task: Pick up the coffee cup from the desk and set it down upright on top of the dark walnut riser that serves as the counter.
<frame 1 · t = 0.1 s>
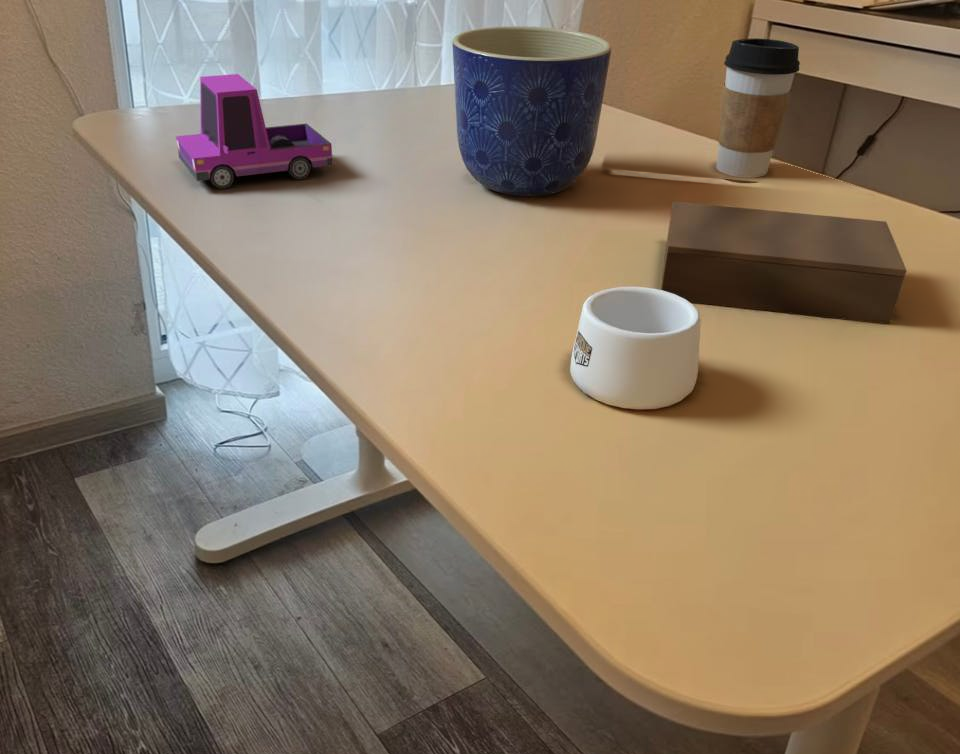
counter: (769, 284, 89), on the table
planter: (523, 186, 110), on the table
toy truck: (257, 174, 111), on the table
coffee cup: (740, 177, 116), on the table
mug: (625, 376, 74), on the table
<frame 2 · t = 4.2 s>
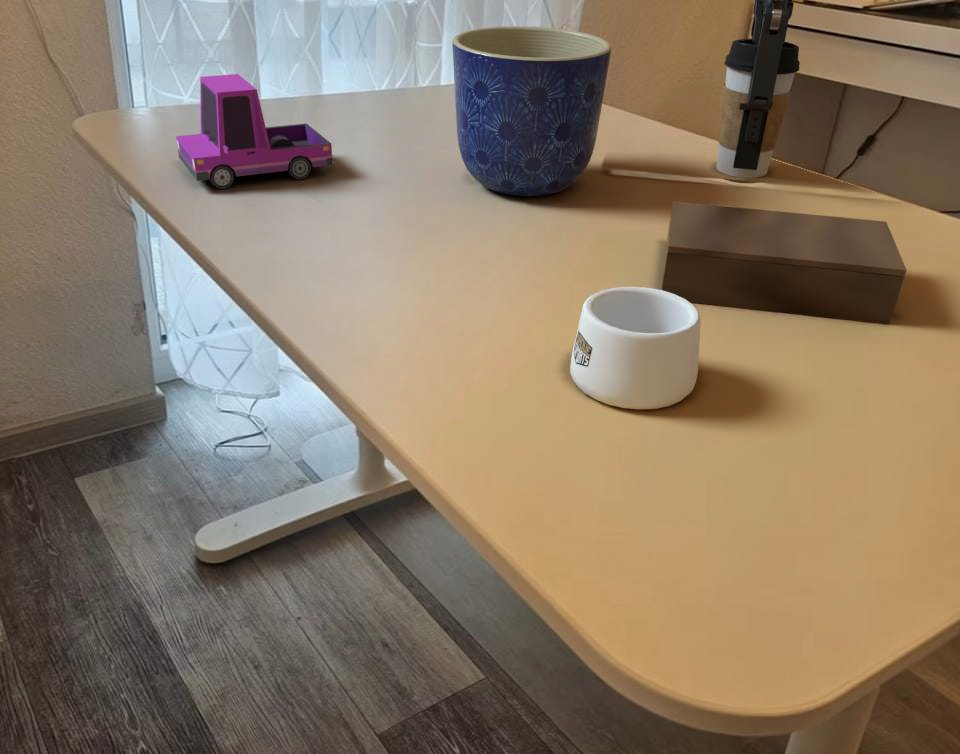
hand: (744, 157, 114), 2 cm above the table, tool pointing down, fingers closed on coffee cup, 8 cm apart
coffee cup: (740, 177, 116), on the table, touching gripper
everything else where it was.
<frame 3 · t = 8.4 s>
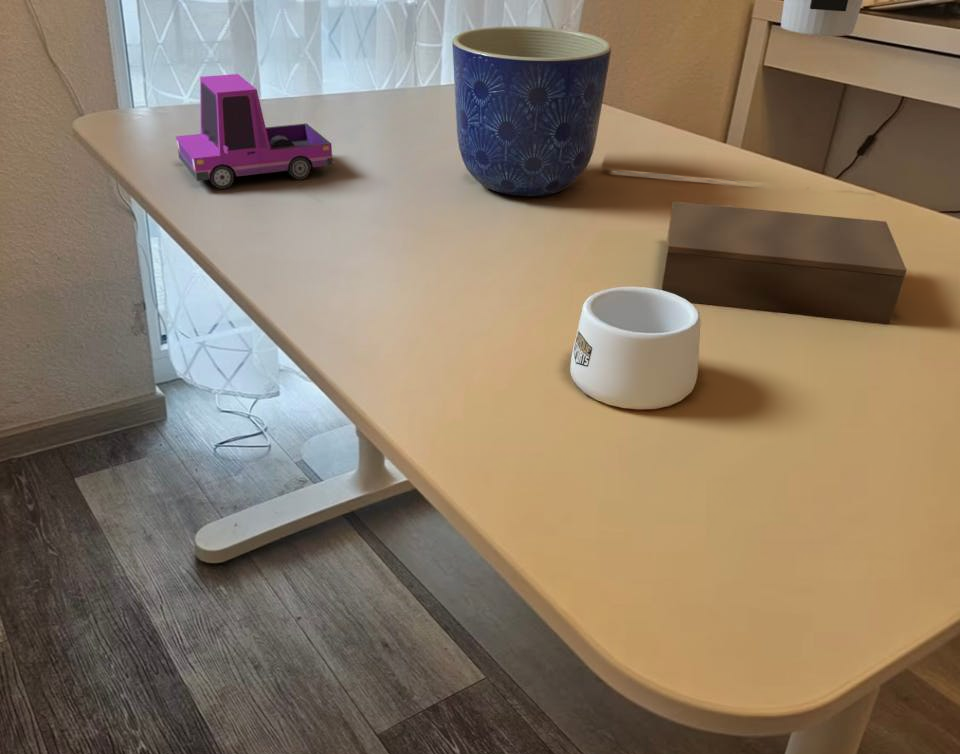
hand: (823, 0, 79), 23 cm above the table, tool pointing down, fingers closed on coffee cup, 8 cm apart
coffee cup: (815, 32, 80), point 21 cm above the table, touching gripper
everything else where it was.
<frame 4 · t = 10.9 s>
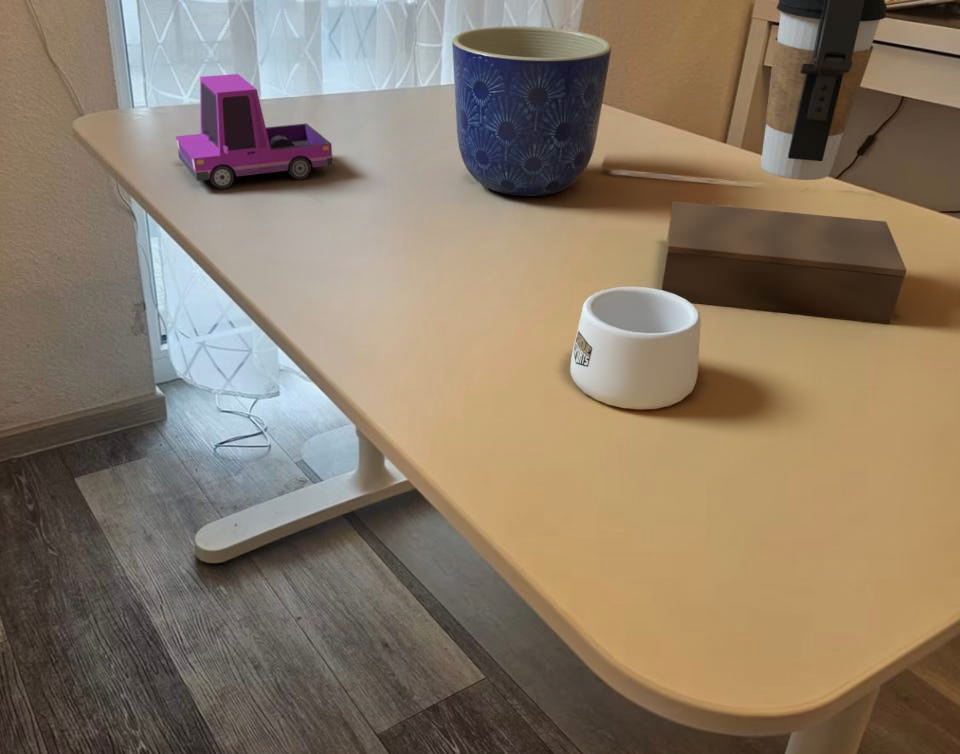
hand: (801, 144, 81), 13 cm above the table, tool pointing down, fingers closed on coffee cup, 8 cm apart
coffee cup: (794, 171, 83), point 10 cm above the table, touching gripper
everything else where it was.
when the fingers open (7 cm above the table, at t = 12.7 s): coffee cup stays where it is, resting on counter.
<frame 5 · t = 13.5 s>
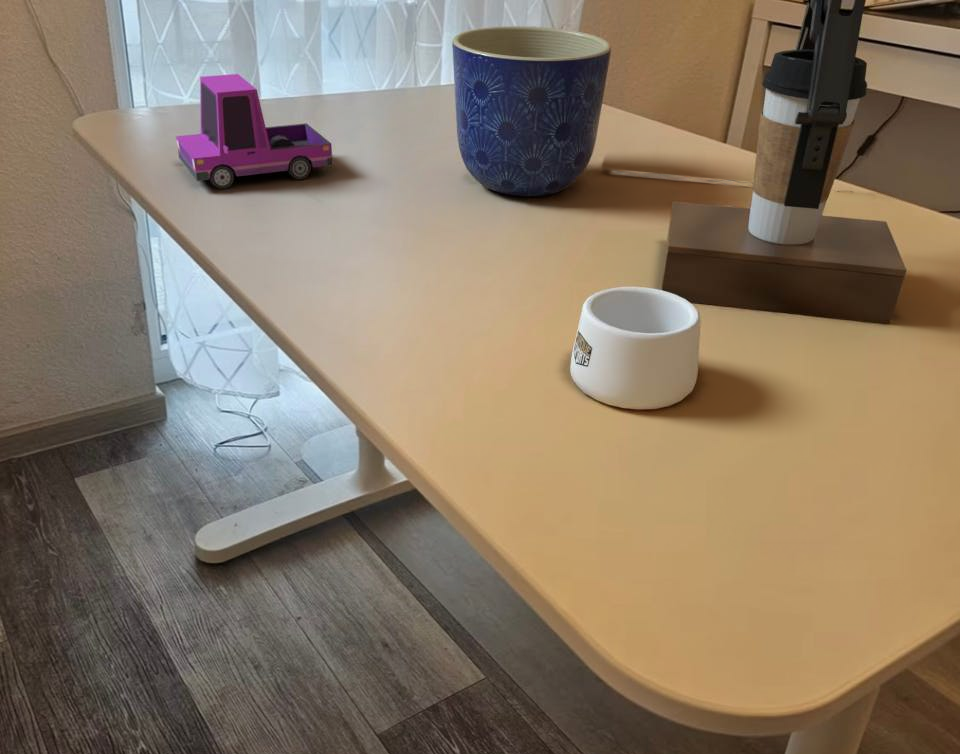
hand: (795, 180, 83), 10 cm above the table, tool pointing down, fingers open, 13 cm apart
coffee cup: (780, 235, 86), point 5 cm above the table, touching counter
everything else where it was.
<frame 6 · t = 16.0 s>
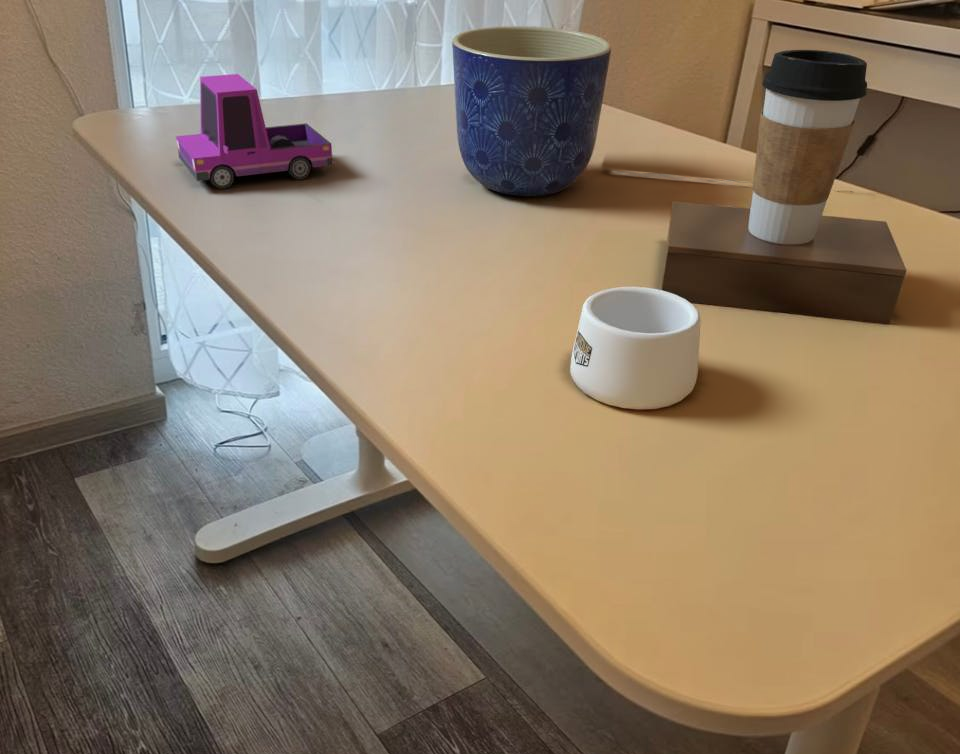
nothing on the table moved.
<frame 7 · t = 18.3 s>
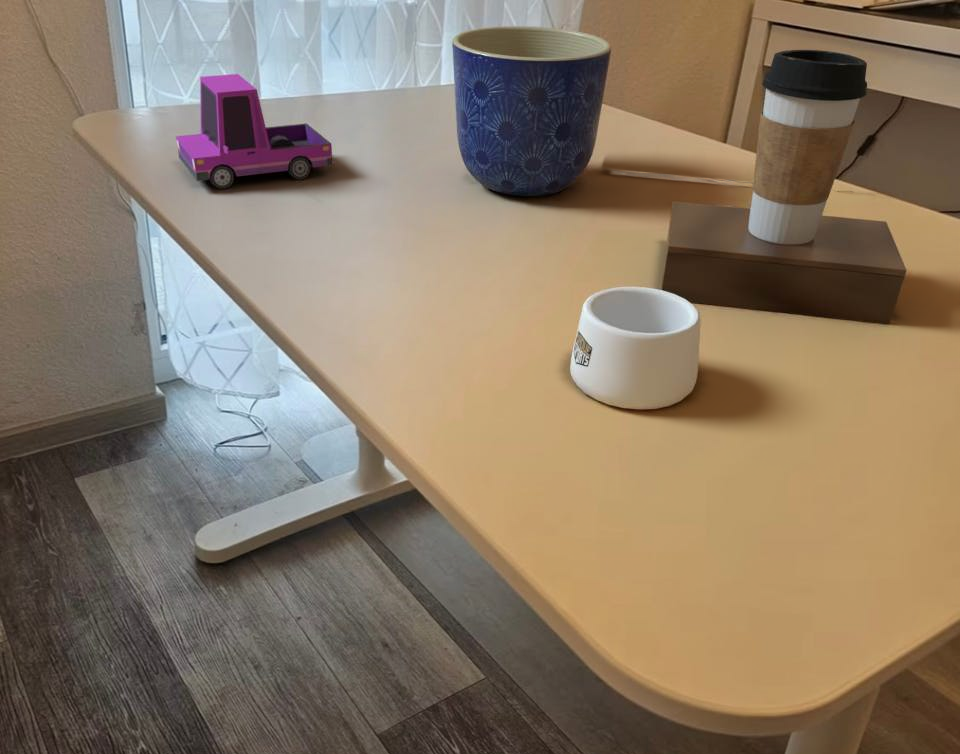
nothing on the table moved.
at the end: coffee cup inside the target area on the counter (0.1 cm from its centre), point 4.8 cm above the counter's base; coffee cup tilted 0°; the gripper is holding nothing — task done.
